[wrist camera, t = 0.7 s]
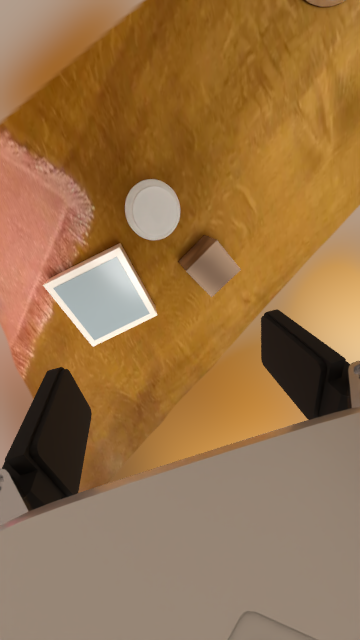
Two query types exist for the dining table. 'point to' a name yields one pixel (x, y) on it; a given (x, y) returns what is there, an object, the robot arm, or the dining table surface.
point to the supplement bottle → (152, 209)
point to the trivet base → (102, 295)
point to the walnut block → (209, 265)
